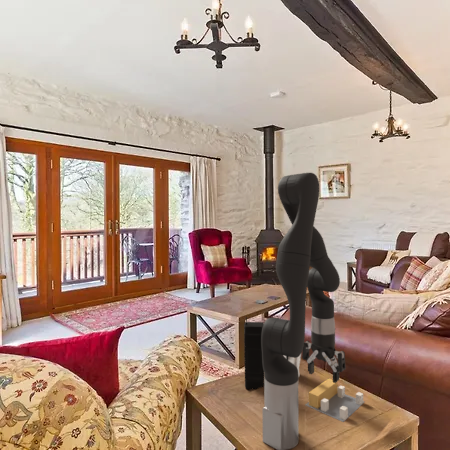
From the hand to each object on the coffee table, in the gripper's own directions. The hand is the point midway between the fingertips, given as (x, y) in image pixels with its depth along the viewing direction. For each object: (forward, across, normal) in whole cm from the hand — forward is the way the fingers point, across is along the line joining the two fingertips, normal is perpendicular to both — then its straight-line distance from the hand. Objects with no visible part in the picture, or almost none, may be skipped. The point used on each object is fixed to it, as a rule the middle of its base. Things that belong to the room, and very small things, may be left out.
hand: (323, 377), depth 115 cm
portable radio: (+8, -23, -7) cm, 25 cm away
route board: (+8, +4, -1) cm, 9 cm away
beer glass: (+8, -16, +7) cm, 20 cm away
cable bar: (+7, 0, -1) cm, 7 cm away
